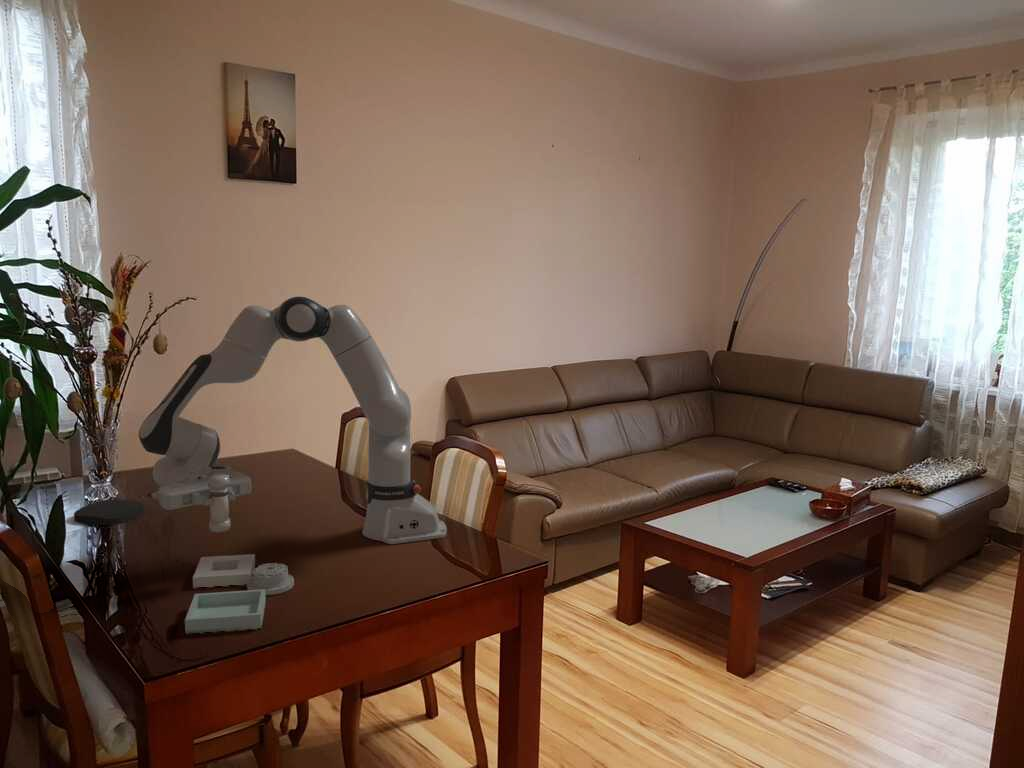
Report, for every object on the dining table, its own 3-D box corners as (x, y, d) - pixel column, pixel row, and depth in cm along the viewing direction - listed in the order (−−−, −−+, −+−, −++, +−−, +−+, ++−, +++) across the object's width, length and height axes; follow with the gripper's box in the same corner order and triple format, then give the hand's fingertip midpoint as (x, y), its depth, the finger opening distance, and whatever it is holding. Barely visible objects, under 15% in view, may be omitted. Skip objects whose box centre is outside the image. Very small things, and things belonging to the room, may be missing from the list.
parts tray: (265, 602, 165) (265, 589, 164) (261, 628, 153) (260, 614, 153) (195, 607, 162) (194, 593, 161) (185, 634, 150) (184, 620, 150)
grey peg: (231, 524, 177) (230, 473, 175) (229, 531, 173) (228, 479, 171) (210, 525, 176) (209, 474, 174) (208, 532, 172) (207, 480, 170)
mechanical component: (281, 574, 180) (239, 585, 174) (280, 556, 180) (239, 567, 173) (302, 588, 173) (259, 600, 166) (301, 569, 172) (258, 581, 166)
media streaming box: (115, 528, 207) (114, 517, 207) (67, 523, 210) (66, 512, 210) (150, 511, 222) (150, 501, 221) (105, 506, 224) (105, 496, 224)
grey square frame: (255, 564, 185) (254, 554, 185) (250, 584, 174) (250, 574, 173) (201, 567, 182) (201, 557, 182) (193, 588, 171) (192, 577, 170)
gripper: (147, 480, 174) (173, 494, 164) (234, 465, 189) (262, 477, 179) (148, 507, 175) (174, 523, 166) (235, 490, 190) (263, 503, 180)
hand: (221, 499), depth 172 cm, fingers closed on grey peg, 4 cm apart
